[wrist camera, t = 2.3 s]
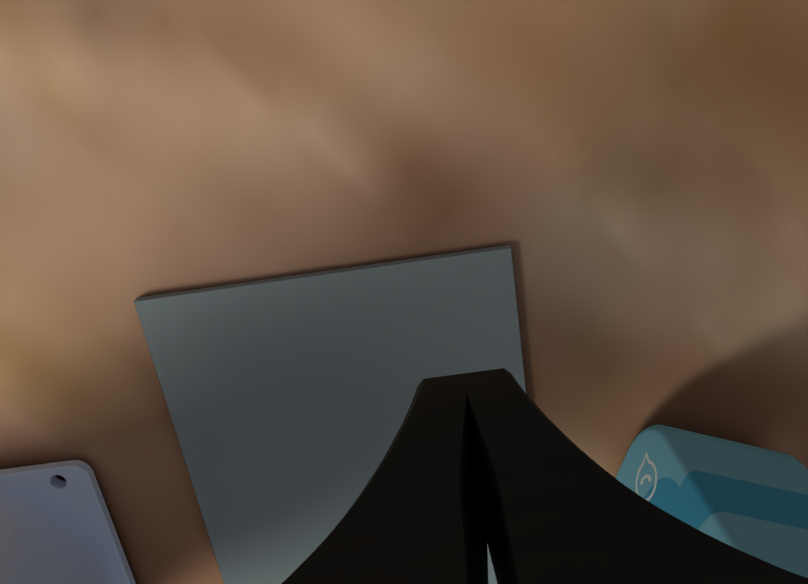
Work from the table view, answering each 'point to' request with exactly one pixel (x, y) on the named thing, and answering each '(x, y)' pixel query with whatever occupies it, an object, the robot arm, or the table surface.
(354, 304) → the mat
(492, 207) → the table surface
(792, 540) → the data package
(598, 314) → the table surface
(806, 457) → the table surface
